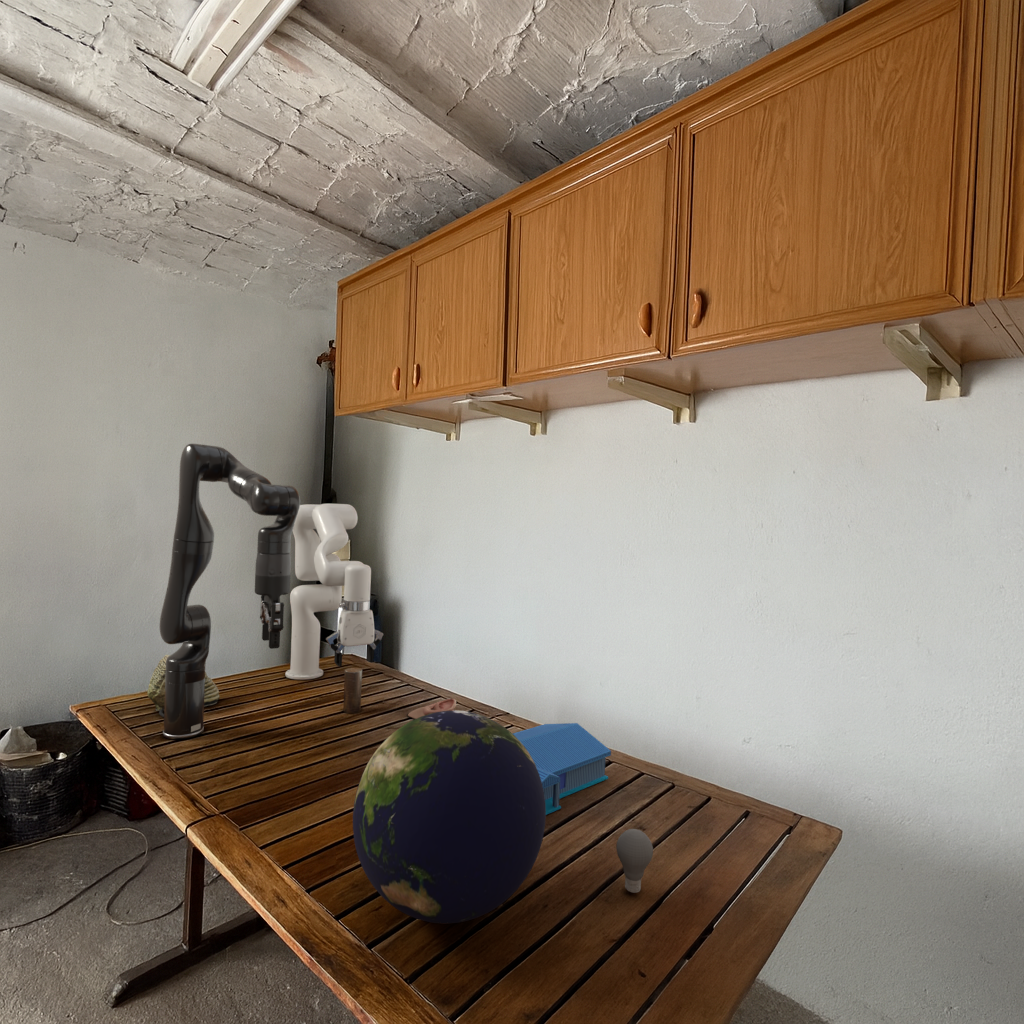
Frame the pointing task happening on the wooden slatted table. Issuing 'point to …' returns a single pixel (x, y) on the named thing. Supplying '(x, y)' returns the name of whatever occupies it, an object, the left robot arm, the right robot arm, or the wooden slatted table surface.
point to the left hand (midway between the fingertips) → (270, 644)
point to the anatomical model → (434, 708)
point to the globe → (449, 817)
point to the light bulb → (634, 857)
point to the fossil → (158, 687)
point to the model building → (564, 759)
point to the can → (352, 690)
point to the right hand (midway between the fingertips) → (354, 663)
